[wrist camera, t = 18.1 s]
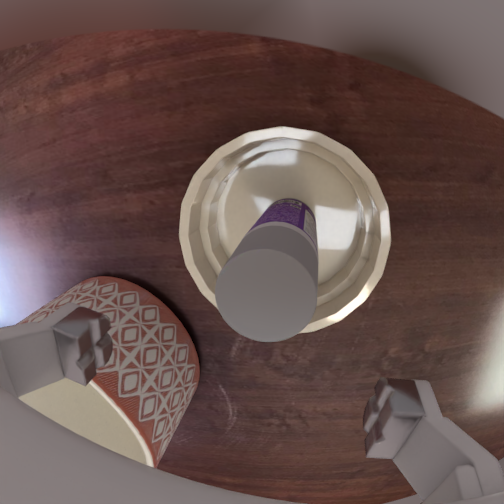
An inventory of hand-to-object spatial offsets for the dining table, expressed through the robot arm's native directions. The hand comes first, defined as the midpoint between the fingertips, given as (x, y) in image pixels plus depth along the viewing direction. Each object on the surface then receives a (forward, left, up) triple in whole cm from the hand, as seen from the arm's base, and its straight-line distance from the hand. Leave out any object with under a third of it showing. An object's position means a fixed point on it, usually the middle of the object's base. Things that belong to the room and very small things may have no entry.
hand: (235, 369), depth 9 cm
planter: (+18, -16, -21) cm, 32 cm away
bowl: (0, 0, -21) cm, 21 cm away
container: (0, 0, -21) cm, 21 cm away
